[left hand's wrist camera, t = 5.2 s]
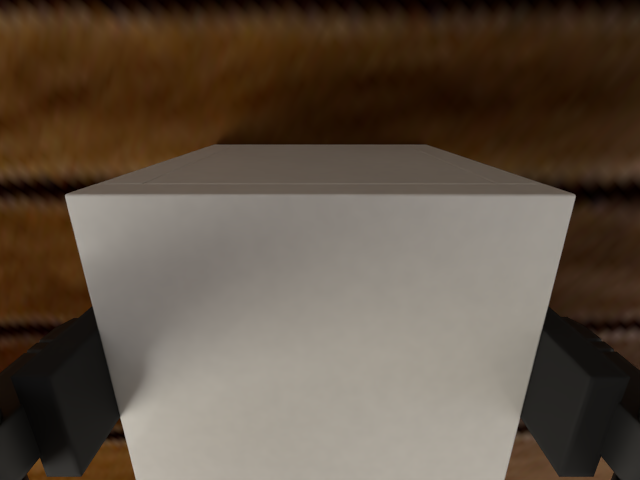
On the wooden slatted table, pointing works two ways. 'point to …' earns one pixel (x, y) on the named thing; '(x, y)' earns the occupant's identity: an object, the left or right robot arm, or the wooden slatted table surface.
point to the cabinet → (320, 309)
